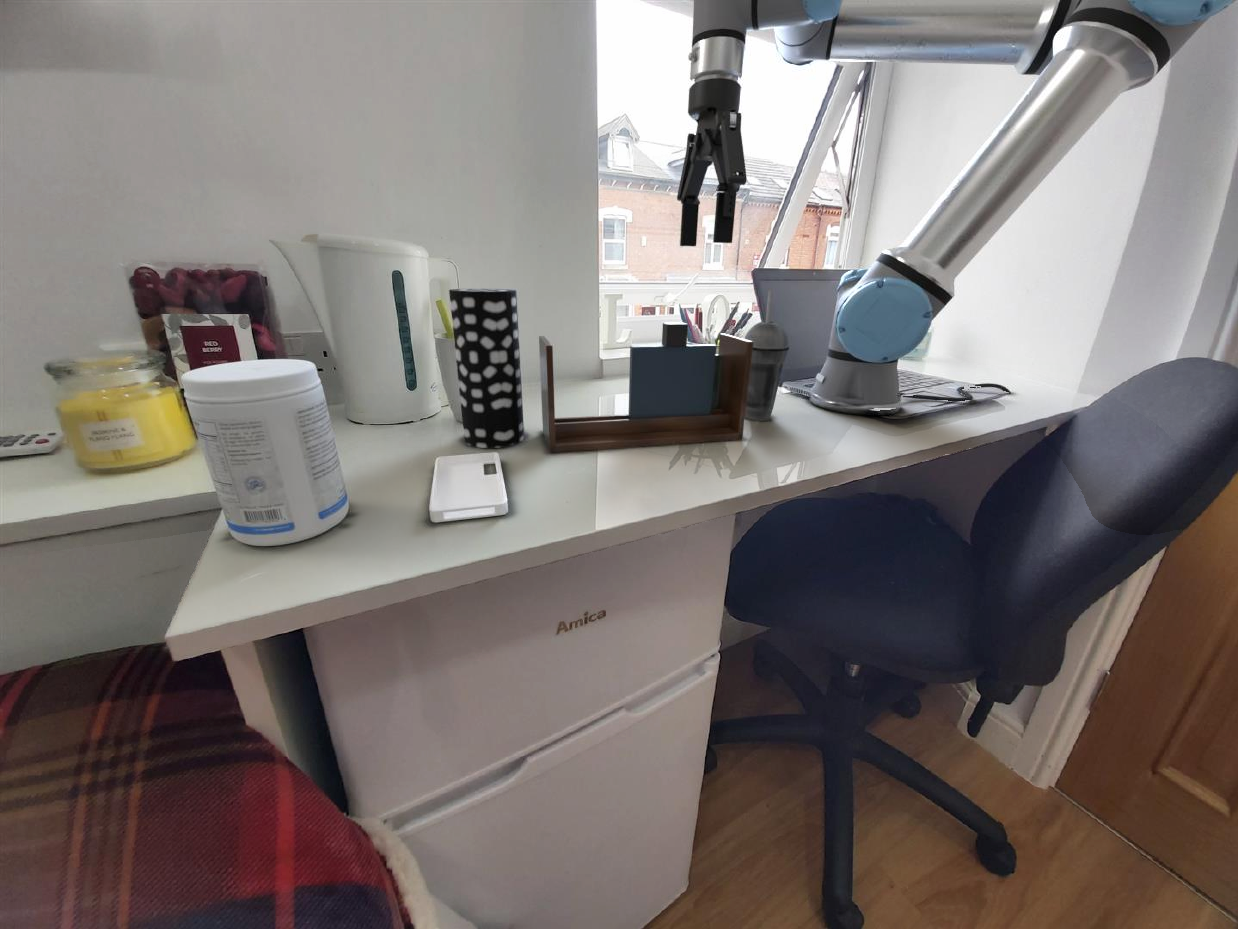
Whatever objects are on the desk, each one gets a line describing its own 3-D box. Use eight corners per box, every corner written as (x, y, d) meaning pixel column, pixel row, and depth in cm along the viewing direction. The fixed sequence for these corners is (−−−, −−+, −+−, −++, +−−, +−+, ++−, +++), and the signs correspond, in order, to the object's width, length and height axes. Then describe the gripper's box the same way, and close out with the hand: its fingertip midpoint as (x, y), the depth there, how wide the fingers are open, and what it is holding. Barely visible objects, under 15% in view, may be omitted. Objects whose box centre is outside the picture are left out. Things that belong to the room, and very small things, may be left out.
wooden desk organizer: (716, 422, 80) (724, 333, 75) (742, 439, 72) (753, 341, 67) (542, 432, 74) (538, 336, 68) (550, 453, 66) (546, 345, 60)
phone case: (437, 466, 60) (430, 524, 47) (436, 456, 60) (428, 511, 47) (499, 461, 62) (508, 515, 49) (498, 451, 62) (508, 502, 48)
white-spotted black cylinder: (510, 450, 66) (499, 292, 59) (453, 445, 68) (436, 290, 60) (532, 432, 74) (525, 289, 66) (480, 427, 75) (468, 288, 68)
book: (705, 422, 76) (713, 322, 70) (710, 426, 74) (720, 323, 69) (627, 426, 73) (629, 322, 67) (631, 431, 71) (633, 324, 66)
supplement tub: (322, 493, 53) (291, 354, 47) (370, 519, 48) (340, 366, 42) (213, 529, 46) (160, 369, 40) (255, 563, 40) (201, 385, 35)
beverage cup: (738, 422, 80) (753, 291, 73) (730, 410, 87) (743, 289, 79) (784, 423, 80) (803, 292, 73) (772, 411, 87) (789, 290, 79)
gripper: (662, 106, 82) (656, 246, 90) (730, 47, 60) (715, 240, 67) (704, 111, 84) (695, 247, 92) (786, 54, 61) (764, 241, 69)
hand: (703, 244), depth 80 cm, fingers open, 13 cm apart
